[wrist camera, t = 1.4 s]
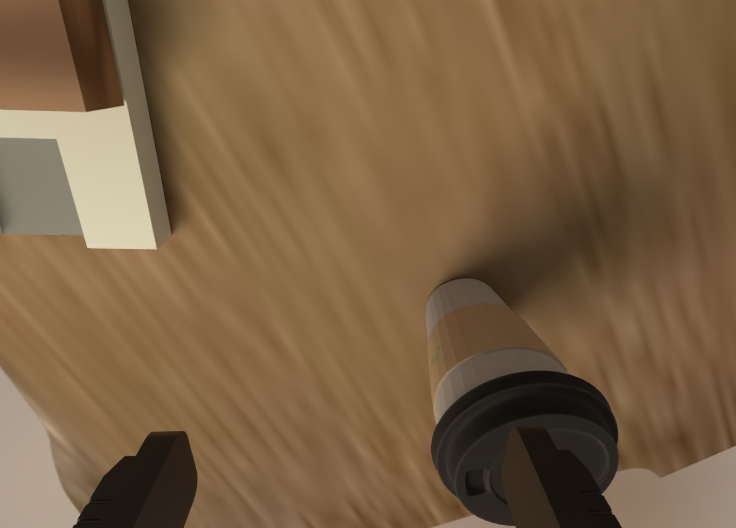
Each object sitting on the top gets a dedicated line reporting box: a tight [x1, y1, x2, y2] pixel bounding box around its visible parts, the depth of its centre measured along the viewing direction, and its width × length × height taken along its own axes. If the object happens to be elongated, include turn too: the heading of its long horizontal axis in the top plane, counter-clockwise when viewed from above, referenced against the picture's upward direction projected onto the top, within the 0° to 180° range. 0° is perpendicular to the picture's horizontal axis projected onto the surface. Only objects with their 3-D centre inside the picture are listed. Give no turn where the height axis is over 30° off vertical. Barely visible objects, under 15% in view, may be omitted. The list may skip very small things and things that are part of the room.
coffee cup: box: [426, 278, 619, 526], centre depth 27 cm, size 9×9×15 cm
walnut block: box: [0, 0, 124, 112], centre depth 20 cm, size 6×6×4 cm
